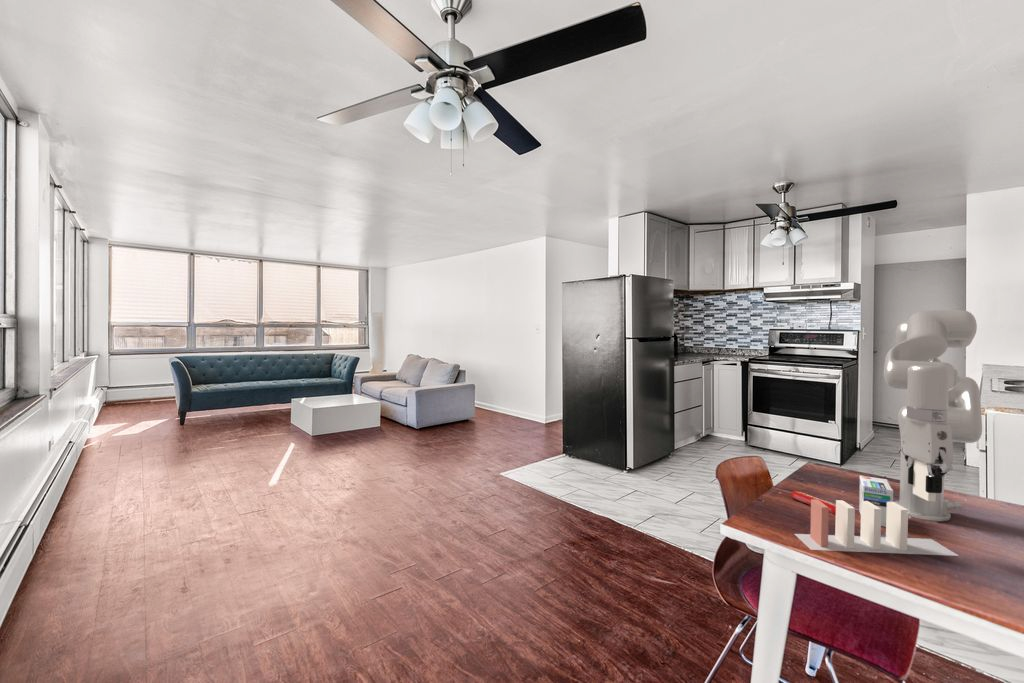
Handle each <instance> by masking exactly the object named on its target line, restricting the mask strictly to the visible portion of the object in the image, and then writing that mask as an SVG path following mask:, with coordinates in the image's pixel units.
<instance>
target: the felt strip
mask: <svg viewBox="0 0 1024 683" xmlns="http://www.w3.org/2000/svg"><path fill="white" fill-rule="evenodd" d="M794 536H796V537H797V538H798V540H799V541H801V542H802V543H803V544H804V545H805V546H806V547H808V548H809V550H810V551H828V552H829V551H831V552H832V551H833V552H851V553H852V552H853V553H855V552H857V553H877V554H878V553H880V554H904V555H905V554H906V555H927V556H928V555H930V556H931V555H932V556H952V557H953V556H954V557H955V556H956V557H959V556H960V555H959V554H957V553H955V552H953V550H950V549H949V548H947V547H945V546H943V545H942V544H940V543H939V542H937V541H936V540H934V539H932V538H916V537H907V550H899V549H898V548H896V547H895V546H893V545H892V544H891V543H889V542H888V541H886V536H881V544H880V549H873V548H871V547H870V546H869V545H867V544H866V543H865V542H863V541H862V540H861V539H860V535H854V548H847V547H845V546H844V545H843V544H842V543H840V542H839V541H838V540H837V539H835V534H828V547H821V546H820V545H818V544H817V543H816V542H815V541H814V540H813V539H812V538H811V537H810V533H807V534H806V533H794Z"/></svg>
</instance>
